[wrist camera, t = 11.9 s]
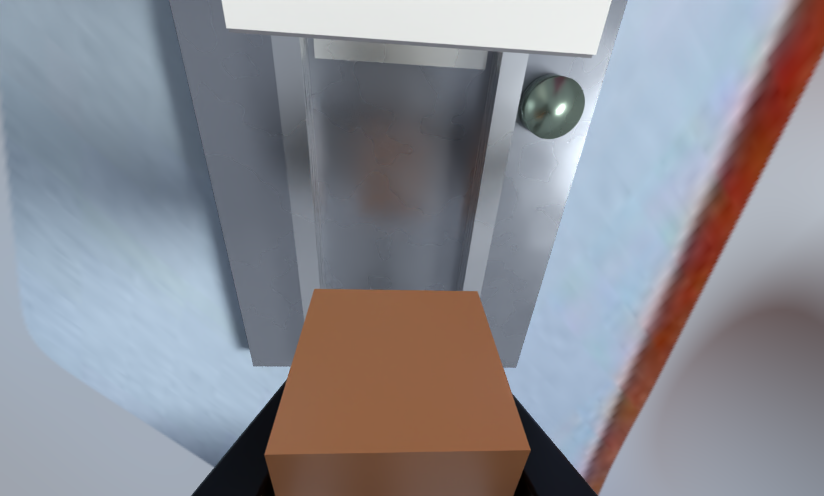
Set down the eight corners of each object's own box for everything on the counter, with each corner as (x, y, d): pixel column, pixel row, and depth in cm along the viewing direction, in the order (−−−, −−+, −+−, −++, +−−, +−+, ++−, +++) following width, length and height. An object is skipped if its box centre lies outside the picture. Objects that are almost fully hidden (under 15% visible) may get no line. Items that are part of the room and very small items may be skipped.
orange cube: (458, 395, 11) (488, 560, 8) (325, 397, 11) (294, 567, 7) (477, 290, 9) (530, 449, 6) (314, 288, 9) (264, 454, 5)
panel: (510, 353, 21) (522, 385, 19) (259, 351, 20) (245, 385, 18) (649, -134, 11) (706, -171, 9) (144, -192, 10) (83, -247, 8)
